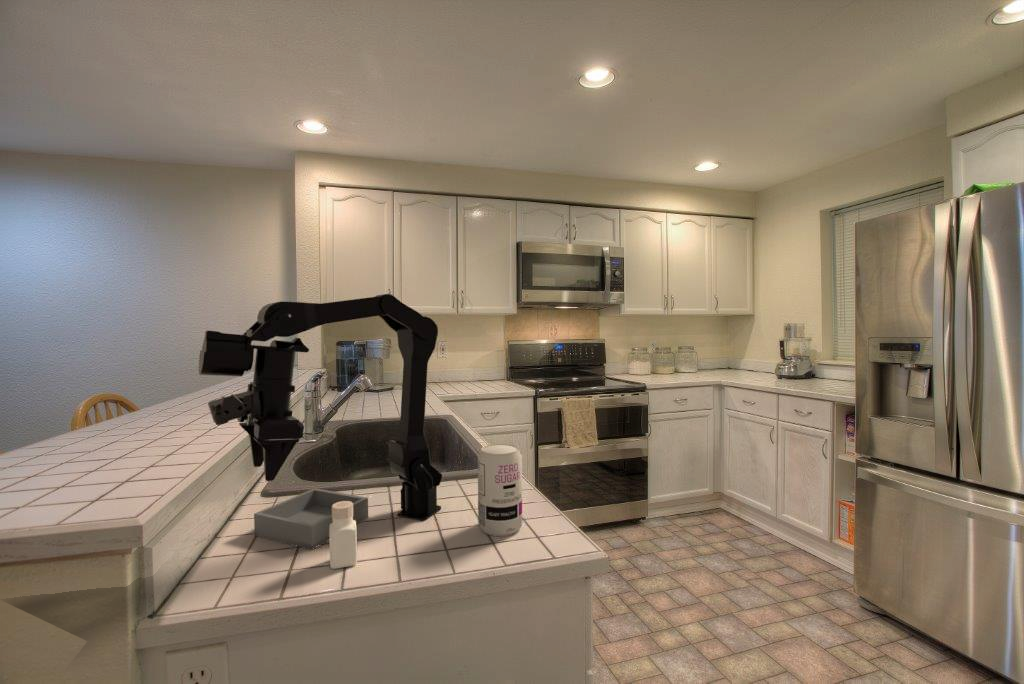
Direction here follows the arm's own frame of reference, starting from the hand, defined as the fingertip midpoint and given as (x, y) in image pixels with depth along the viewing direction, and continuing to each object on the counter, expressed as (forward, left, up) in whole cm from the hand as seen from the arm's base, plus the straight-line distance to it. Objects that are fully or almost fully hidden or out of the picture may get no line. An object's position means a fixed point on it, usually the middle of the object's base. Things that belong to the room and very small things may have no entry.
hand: (263, 473), depth 75 cm
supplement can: (-31, -25, -14) cm, 42 cm away
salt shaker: (-13, -4, -14) cm, 20 cm away
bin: (+2, -12, -14) cm, 19 cm away
